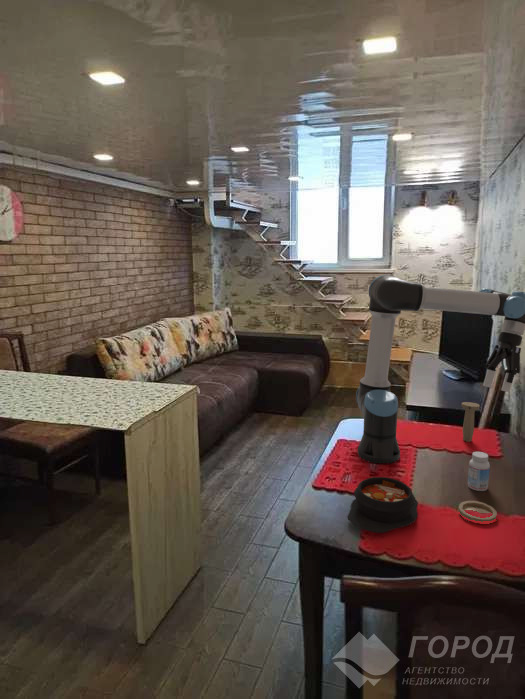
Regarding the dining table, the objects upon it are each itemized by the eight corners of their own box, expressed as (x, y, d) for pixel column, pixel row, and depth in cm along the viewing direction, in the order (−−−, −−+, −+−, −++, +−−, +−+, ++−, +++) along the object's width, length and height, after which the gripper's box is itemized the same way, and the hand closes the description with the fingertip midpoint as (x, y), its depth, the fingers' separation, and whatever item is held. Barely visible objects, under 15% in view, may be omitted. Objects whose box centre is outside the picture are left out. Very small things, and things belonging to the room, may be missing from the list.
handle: (475, 444, 189) (478, 407, 186) (457, 441, 193) (460, 404, 189) (476, 440, 193) (480, 403, 190) (459, 436, 197) (462, 401, 193)
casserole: (376, 488, 156) (377, 464, 155) (432, 509, 144) (434, 483, 142) (331, 521, 138) (332, 494, 137) (391, 548, 126) (393, 519, 124)
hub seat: (466, 524, 136) (466, 520, 136) (452, 505, 146) (452, 500, 146) (503, 524, 136) (504, 519, 136) (486, 504, 146) (487, 500, 146)
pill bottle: (486, 484, 159) (490, 451, 156) (488, 493, 153) (492, 459, 151) (466, 481, 161) (469, 449, 158) (467, 490, 155) (470, 457, 153)
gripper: (541, 337, 169) (523, 396, 170) (503, 335, 194) (488, 387, 195) (520, 331, 169) (503, 390, 169) (485, 330, 193) (470, 382, 194)
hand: (495, 389), depth 182 cm, fingers open, 13 cm apart
